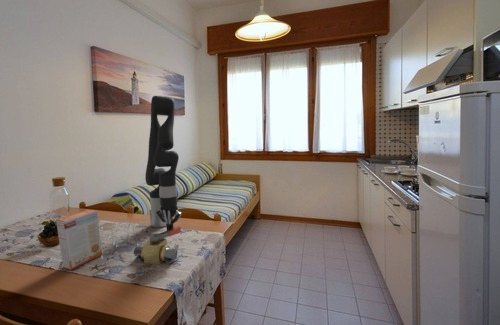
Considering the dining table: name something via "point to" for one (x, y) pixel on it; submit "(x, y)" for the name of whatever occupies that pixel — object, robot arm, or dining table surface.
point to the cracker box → (79, 238)
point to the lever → (164, 234)
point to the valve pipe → (155, 252)
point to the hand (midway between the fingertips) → (170, 230)
